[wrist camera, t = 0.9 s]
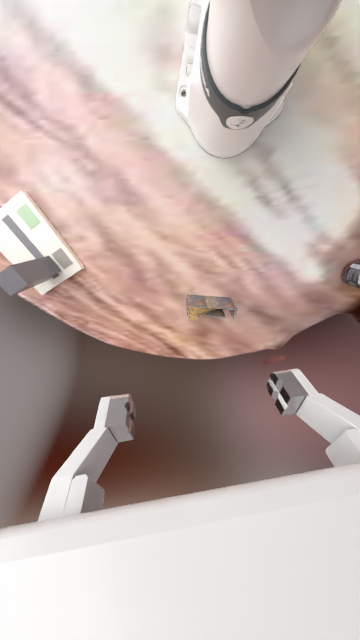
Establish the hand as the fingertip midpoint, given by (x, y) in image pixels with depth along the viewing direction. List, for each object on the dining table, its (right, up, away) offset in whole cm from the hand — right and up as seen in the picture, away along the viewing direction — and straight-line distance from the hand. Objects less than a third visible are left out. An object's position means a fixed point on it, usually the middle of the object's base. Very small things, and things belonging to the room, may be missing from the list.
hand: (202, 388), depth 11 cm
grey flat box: (+6, +9, +40) cm, 42 cm away
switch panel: (-35, +21, +34) cm, 53 cm away
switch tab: (-33, +16, +34) cm, 50 cm away
